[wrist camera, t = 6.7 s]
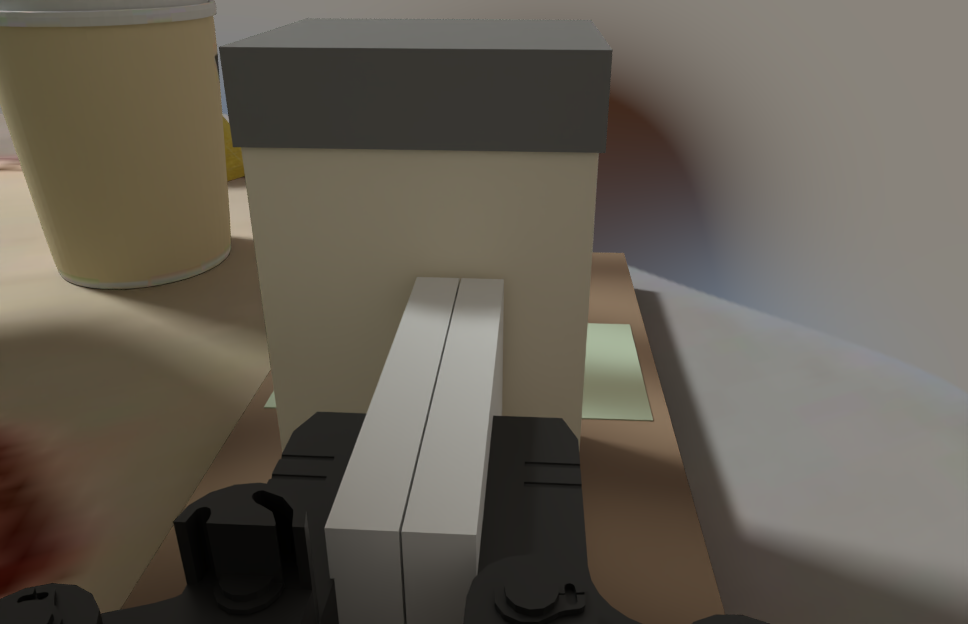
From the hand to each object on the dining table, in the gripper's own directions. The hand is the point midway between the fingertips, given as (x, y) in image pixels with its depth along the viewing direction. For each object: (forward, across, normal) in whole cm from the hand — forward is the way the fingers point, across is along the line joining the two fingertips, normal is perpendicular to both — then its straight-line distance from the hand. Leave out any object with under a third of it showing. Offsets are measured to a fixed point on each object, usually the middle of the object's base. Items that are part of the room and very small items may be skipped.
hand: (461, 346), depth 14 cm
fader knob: (+3, -1, -5) cm, 6 cm away
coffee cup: (+21, -17, -7) cm, 28 cm away
